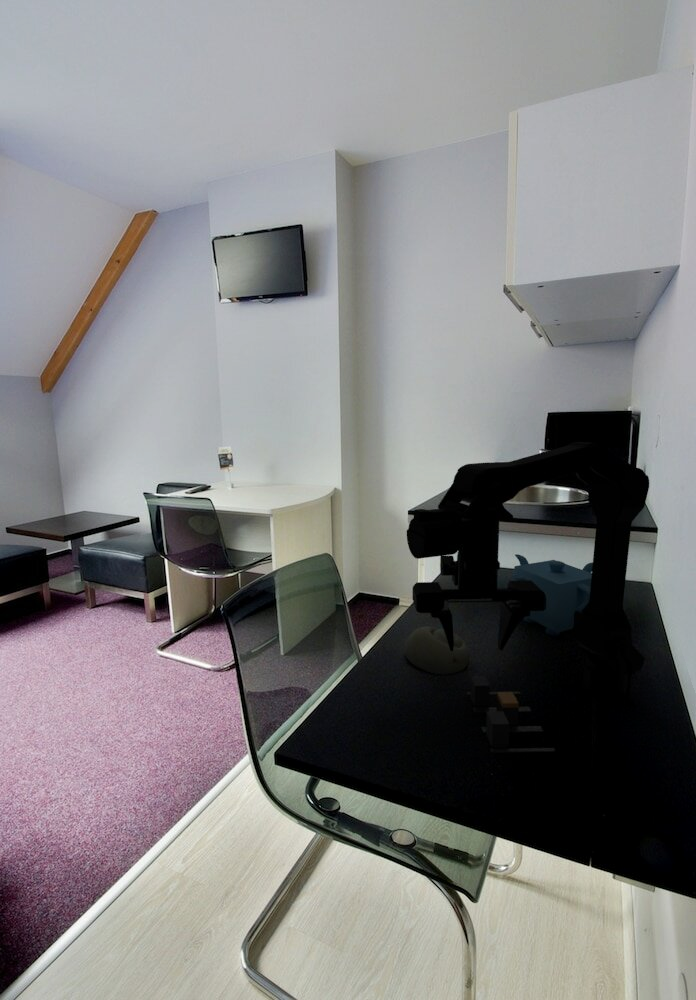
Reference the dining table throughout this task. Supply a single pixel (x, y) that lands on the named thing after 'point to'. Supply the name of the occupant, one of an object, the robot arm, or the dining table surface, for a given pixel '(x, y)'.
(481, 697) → the handle
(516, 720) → the handle
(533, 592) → the robot arm
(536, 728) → the panel
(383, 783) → the dining table surface
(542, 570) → the teakettle
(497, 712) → the handle
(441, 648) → the seashell
